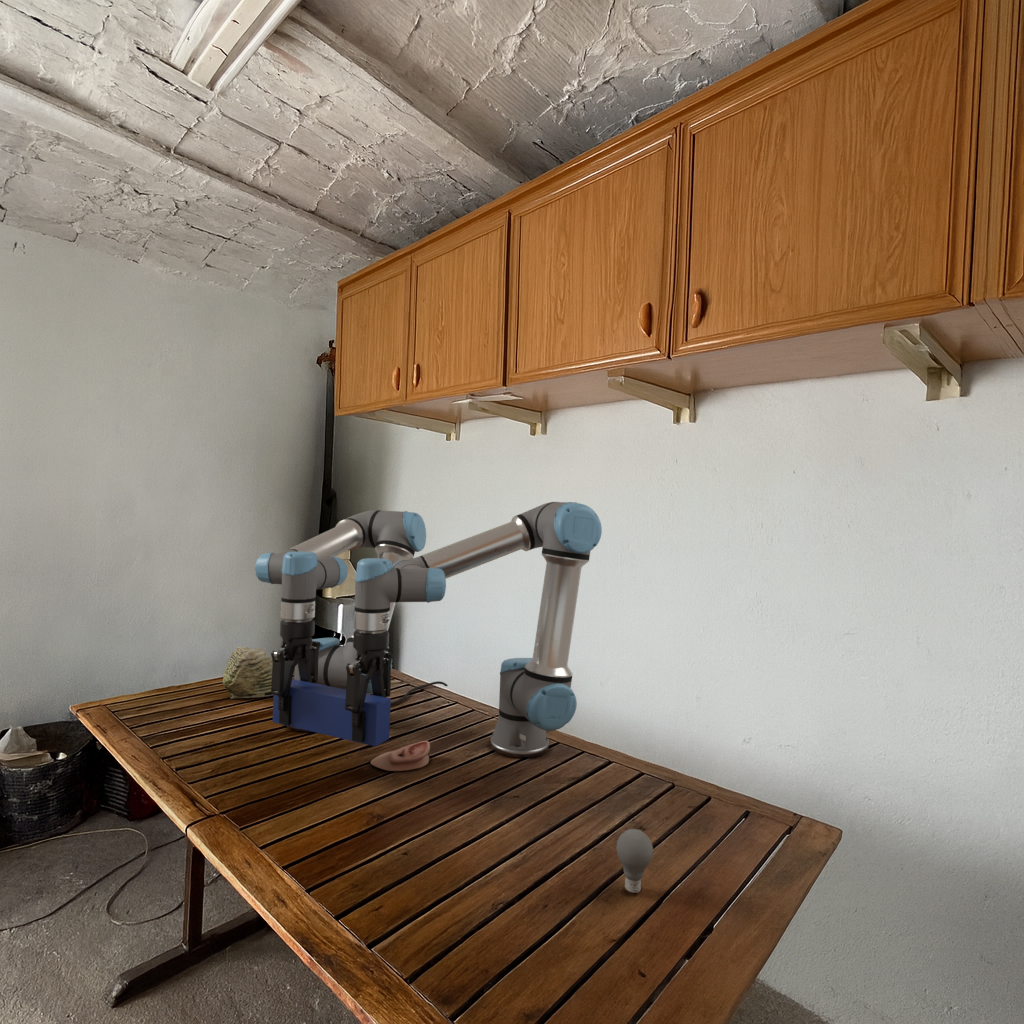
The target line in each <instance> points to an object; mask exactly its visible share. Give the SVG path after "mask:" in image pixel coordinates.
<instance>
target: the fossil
mask: <svg viewBox="0 0 1024 1024" xmlns="http://www.w3.org/2000/svg"><path fill="white" fill-rule="evenodd" d="M272 665H273V661H272V657H270V656H269V655H268V654H267V653H266V652H265V650H264V649H263V648H260V647H258V648H251V647H247V646H246V647H245V646H238V647H237V648H236V649H235V650H233V651H232V653H231V656H230V657H229V659H228V660H227V663H226V666H225V668H224V671H223V675H222V676H223V677H222V685H223V687H224V688H225V690H226V691H228V693H229V698H230V699H250V698H264V697H271V696H272V697H273V696H274V695H273V694H271V685H272Z"/></svg>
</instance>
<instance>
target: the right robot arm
mask: <svg viewBox="0 0 1024 1024" xmlns="http://www.w3.org/2000/svg"><path fill="white" fill-rule="evenodd" d="M602 528H603V527H602V522H601V519H600V517H599V515H598V514H597V513H596V511H595V510H594V509H593V508H591V507H590V506H589V505H586V504H583V503H579V502H576V501H575V502H574V501H550V502H546V503H543V504H541V505H538V506H536V507H534V508H531V509H528V510H526V511H525V512H521V513H519V514H517V515H514V516H513V517H512V518H511V520H510V521H509V522H507V523H504V524H501V525H499V526H496V527H493V528H491V529H488V530H485V531H483V532H480V533H478V534H475V535H472V536H468V537H467V538H463V539H461V540H459V541H456V542H453V543H451V544H448V545H446V546H443V547H440V548H437V549H435V550H432V551H429V552H427V553H424V554H422V555H420V556H416V557H413V559H411V560H401V561H398V562H396V563H394V564H393V565H392V562H391V560H389V559H382V558H378V557H367V558H365V557H364V558H361V559H359V560H358V562H357V564H356V573H355V579H354V581H355V583H354V584H355V585H354V612H353V629H354V631H353V634H354V635H353V634H352V635H353V647H354V648H355V649H356V651H357V655H356V658H355V662H353V663H352V664H349V663H348V664H347V665H346V670H347V687H346V701H345V710H348V711H352V741H351V742H354V741H356V742H355V743H358V742H361V743H360V744H362V743H363V742H364V739H365V714H366V711H363V707H364V703H365V698H366V693H367V688H368V683H369V680H370V679H371V684H372V690H373V694H372V695H375V696H380V697H385V698H390V697H391V695H392V694H391V693H392V691H391V690H392V689H391V688H392V686H391V684H392V681H391V680H392V676H391V675H392V670H391V664H392V663H391V661H392V662H393V653H392V652H389V651H388V652H385V651H384V650H385V649H386V648H388V647H389V644H390V632H389V628H390V625H389V611H390V603H391V602H396V603H427V604H429V603H433V602H441V601H442V600H443V599H444V597H445V595H446V591H447V579H449V578H452V577H454V576H457V575H460V574H461V573H464V572H467V571H469V570H472V569H475V568H477V567H479V566H482V565H484V564H487V563H490V562H492V561H495V560H497V559H499V558H503V557H506V556H508V555H511V554H513V553H516V552H518V551H521V550H522V551H524V552H528V551H531V550H534V549H539V548H542V549H541V556H542V557H543V558H544V560H545V562H546V564H545V569H544V570H545V571H544V577H543V583H542V584H543V585H542V591H541V599H540V604H539V605H540V606H539V611H538V618H537V619H538V620H537V625H536V633H535V640H534V647H533V652H532V657H514V658H507V659H504V660H503V661H501V664H500V672H499V696H498V697H499V698H498V699H499V700H498V717H497V720H496V723H495V726H494V730H493V732H492V734H491V736H490V748H491V750H493V751H494V752H495V753H496V754H499V755H502V756H506V757H510V758H516V759H528V758H529V759H530V758H536V757H540V756H542V755H544V754H546V753H547V752H549V750H550V749H549V748H550V740H549V736H548V732H552V731H557V730H560V729H562V728H564V726H566V725H567V724H569V722H571V721H572V719H573V717H574V716H575V714H576V710H577V701H578V700H577V697H576V696H577V695H576V694H575V692H574V690H573V689H572V681H573V672H572V670H571V668H570V667H569V657H570V650H571V644H572V637H573V630H574V622H575V615H576V609H577V603H578V602H577V601H578V595H579V587H580V582H581V576H582V569H583V567H584V566H585V565H587V564H588V563H589V562H590V557H591V551H592V550H594V548H595V547H596V546H598V544H599V543H600V540H601V538H602V533H603V531H602ZM387 629H388V631H387ZM361 673H362V674H367V675H362V674H361ZM358 705H359V706H358Z"/></svg>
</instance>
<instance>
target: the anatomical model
mask: <svg viewBox="0 0 1024 1024" xmlns="http://www.w3.org/2000/svg"><path fill="white" fill-rule="evenodd" d="M430 751H431V743H430V742H429V741H428V740H423V741H417V742H415V743H412V744H408V745H405V746H403V747H399V748H398V749H394V750H391V751H387V752H384V753H381V754H380V755H377V756H376V757H374V758H373V759H371V761H370V764H371V765H372V766H373V767H375V768H378V769H380V770H383V771H387V772H400V771H401V772H402V771H411V770H415V769H421V768H423V767H425V766H427V765H428V764H429V761H430V757H429V755H428V754H429V753H430Z"/></svg>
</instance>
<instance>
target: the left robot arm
mask: <svg viewBox="0 0 1024 1024" xmlns="http://www.w3.org/2000/svg"><path fill="white" fill-rule="evenodd" d="M426 543H427V528H426V523H425V521H424V519H423V517H422V516H421V515H420V514H419V513H417V512H412V511H408V510H404V511H397V510H381V509H372V510H371V509H369V510H367V511H362V512H359V513H356V514H353V515H351V516H348V517H346V518H343V519H342V520H340V521H338V522H337V523H336V525H335V527H333V528H330V529H329V530H326V531H324V532H322V533H319V534H318V535H316V536H314V537H311V538H309V539H307V540H305V541H303V542H300V543H298V544H297V545H294V546H292V547H290V548H288V549H286V550H283V551H281V552H278V553H275V552H265V553H263V554H261V555H259V557H257V559H256V562H255V566H254V570H255V571H254V573H255V577H256V578H257V580H258V581H260V582H262V583H267V584H271V585H281V597H280V598H281V600H280V617H279V618H280V619H282V620H281V621H280V622H279V636H280V637H281V639H282V642H281V645H280V648H278V649H277V650H272V651H271V652H270V656H271V659H272V661H273V665H272V685H271V694H273V695H272V696H274V695H278V697H279V699H278V709H279V710H280V711H279V723H281V724H280V725H283V724H285V725H284V726H286V728H287V729H289V730H291V731H294V732H295V731H296V732H301V733H313V732H312V731H308V730H304V729H299V728H295V727H291V726H287V725H290V724H291V701H292V696H291V695H289V692H290V687H291V682H292V679H295V680H300V681H305V682H310V683H315V684H320V685H325V686H330V687H335V688H340V689H345V690H346V687H347V670H346V665H347V664H348V663H349V664H352V663H353V662H355V658H356V655H357V651H356V649H355V648H354V647H353V635H354V633H353V634H351V635H349V636H348V637H347V638H346V641H345V645H340V644H341V641H340V639H339V638H337V637H321V638H313V636H314V635H315V626H316V625H315V624H316V621H315V619H314V618H315V617H316V598H317V591H319V590H326V589H333V588H335V587H338V586H341V585H342V584H343V583H344V582H345V581H346V579H347V577H348V575H349V574H348V572H349V571H348V566H347V563H346V562H345V560H344V559H342V558H341V557H339V555H341V554H343V553H346V552H347V551H348V552H349V551H350V552H351V551H352V552H353V551H355V550H358V549H361V548H368V549H369V548H371V549H374V551H375V553H376V555H377V558H382V559H389V560H391V562H392V565H393V564H394V563H396V562H398V561H401V560H411V559H413V558H415V554H416V553H419V552H421V551H423V549H424V548H425V546H426ZM396 603H397V602H391V603H390V611H389V626H390V625H391V621H392V617H393V614H394V611H395V606H396ZM387 631H388V632H389V628H388V629H387ZM312 638H313V639H312ZM389 649H390V647H389V646H388V648H386V649H385V650H384V651H385V652H388V653H389ZM392 663H393V660H392V661H391V671H392V669H393V664H392ZM361 674H362V673H361ZM362 675H367V674H362ZM433 685H443V686H444V687H448V686H449V685H448V684H447V683H446V682H444V681H432V682H429V683H426V684H423V685H418V686H416V687H413V688H412V689H410V690H408V691H407V692H406V693H405V694H404V695H403V696H402V697H401V698H399V699H396V700H394V701H391V706H392V705H396V704H398V703H400V702H402V701H404V700H405V699H406V698H407V697H408V696H409V695H410V694H412V693H413V692H415V691H417V690H420V689H423V688H427V687H430V686H433ZM366 694H370V695H373V690H372V684H371V679H370V680H369V683H368V688H367V693H366Z"/></svg>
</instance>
